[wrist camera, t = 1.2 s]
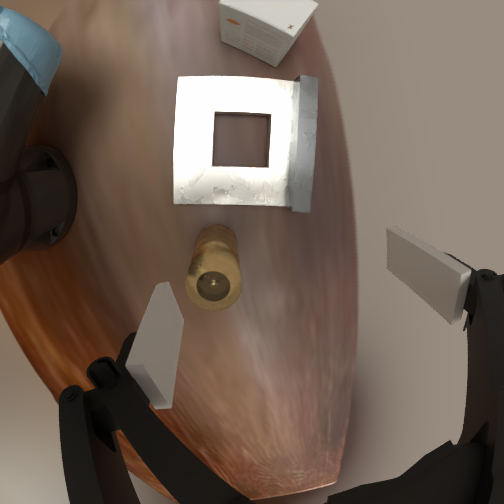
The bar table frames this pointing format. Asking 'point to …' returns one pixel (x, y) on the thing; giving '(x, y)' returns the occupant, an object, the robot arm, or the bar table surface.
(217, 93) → the plate
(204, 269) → the bushing
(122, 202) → the bar table surface
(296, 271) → the bar table surface
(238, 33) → the small box
